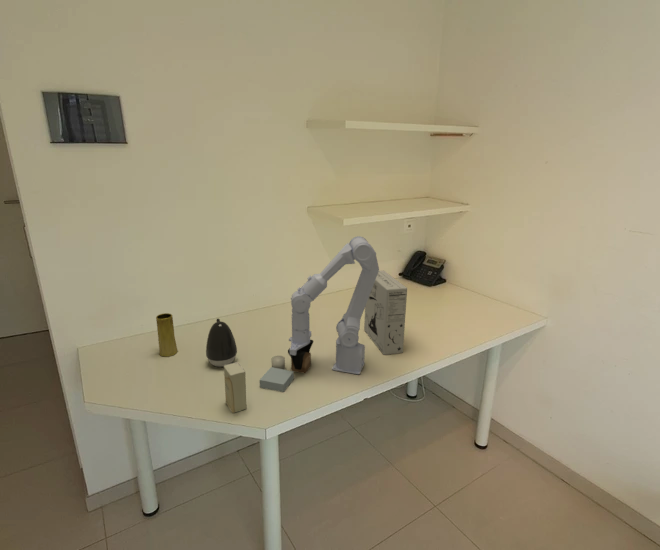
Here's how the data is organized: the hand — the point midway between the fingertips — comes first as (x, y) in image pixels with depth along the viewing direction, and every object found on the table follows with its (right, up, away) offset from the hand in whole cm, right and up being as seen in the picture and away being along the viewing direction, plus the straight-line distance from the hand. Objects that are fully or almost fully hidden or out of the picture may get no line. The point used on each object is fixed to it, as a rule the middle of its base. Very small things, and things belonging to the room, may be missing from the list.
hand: (301, 364), depth 136 cm
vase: (-48, +2, +10) cm, 49 cm away
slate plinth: (-7, -4, -8) cm, 11 cm away
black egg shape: (-27, 0, +4) cm, 28 cm away
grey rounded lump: (-8, -2, 0) cm, 8 cm away
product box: (+30, +4, +21) cm, 36 cm away
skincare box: (-17, -8, -19) cm, 27 cm away
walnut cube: (0, -1, 0) cm, 1 cm away
